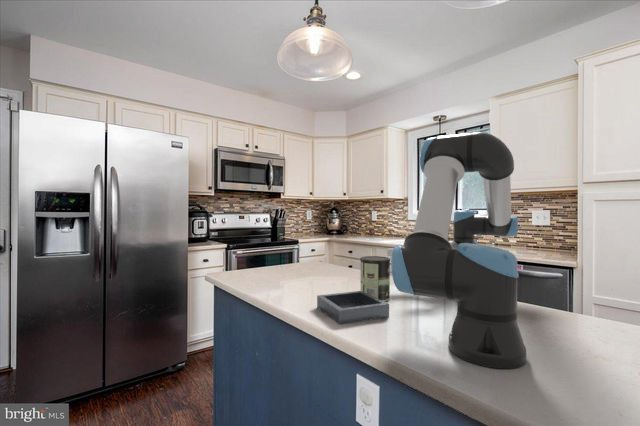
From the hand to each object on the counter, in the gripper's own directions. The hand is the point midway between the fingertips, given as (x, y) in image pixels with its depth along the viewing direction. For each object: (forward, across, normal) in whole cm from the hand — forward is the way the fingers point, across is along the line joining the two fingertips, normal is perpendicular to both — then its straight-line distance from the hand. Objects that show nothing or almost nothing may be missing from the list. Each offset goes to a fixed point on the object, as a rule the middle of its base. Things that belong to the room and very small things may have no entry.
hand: (398, 255), depth 116 cm
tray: (+25, -10, -14) cm, 30 cm away
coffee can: (+10, 0, -15) cm, 18 cm away
